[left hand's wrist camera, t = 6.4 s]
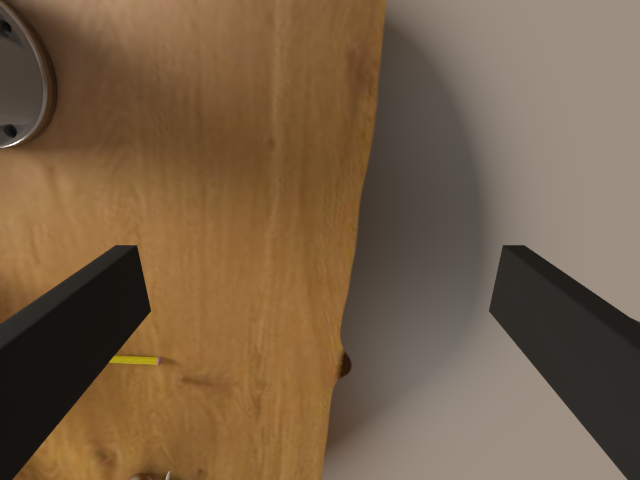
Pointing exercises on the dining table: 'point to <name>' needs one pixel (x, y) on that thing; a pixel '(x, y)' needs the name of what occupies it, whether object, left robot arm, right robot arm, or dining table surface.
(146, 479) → the toy
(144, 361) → the pencil
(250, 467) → the dining table surface
